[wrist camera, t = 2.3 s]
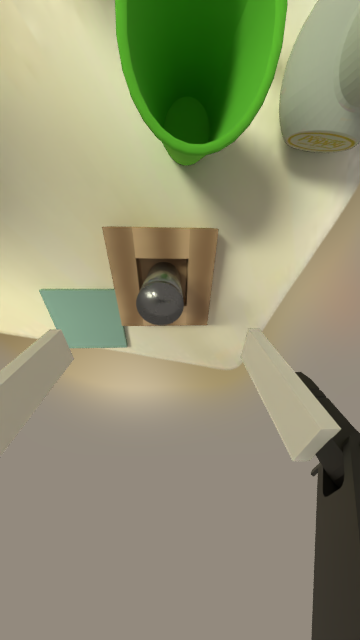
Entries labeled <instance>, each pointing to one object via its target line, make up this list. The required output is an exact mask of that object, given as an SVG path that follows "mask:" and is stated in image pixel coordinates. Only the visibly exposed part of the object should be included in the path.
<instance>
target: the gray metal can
mask: <svg viewBox="0 0 360 640" xmlns="http://www.w3.org/2000/svg"><path fill="white" fill-rule="evenodd" d="M136 307H137V310H138V313H139V314H140V316H141V317H142V318H143V319H144V320H145V321H147V322H149V323H151V324H154V325H160V326H162V325H168V324H171V323H173V322H175V321H176V320H177V319H178V318H179V317H180V316H181V314H182V312H183V308H184V302H183V295H182V288H181V281H180V274H179V272H178V270H177V268H176V267H175V266H174V265H172V264H171V263H168V262H159V263H157V264H155V265H154V266H153V267H152V268H151V269H150V271H149V273H148V275H147V277H146V279H145V281H144V283H143V285H142V287H141V290H140V292H139V294H138V296H137V299H136Z"/></svg>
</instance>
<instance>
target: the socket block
mask: <svg viewBox="0 0 360 640" xmlns="http://www.w3.org/2000/svg"><path fill="white" fill-rule="evenodd" d="M102 229H103V234H104V239H105V244H106V249H107V254H108V259H109V264H110V269H111V274H112V279H113V284H114V289H115V294H116V299H117V304H118V309H119V314H120V319H121V323H122V326H160V325H154V324H151V323H149V322H147V321H145V320H144V319H143V318H142V317H141V316H140V314H139V313H138V310H137V307H136V299H137V296H138V294H139V292H140V290H141V287H142V285H143V283H144V281H145V279H146V277H147V275H148V273H149V271H150V269H151V268H152V267H153V266H154V265H155V264H157V263H159V262H168V263H171V264H172V265H174V266H175V267H176V268H177V270H178V272H179V274H180V281H181V288H182V295H183V302H184V308H183V312H182V314H181V316H180V317H179V318H178V319H177V320H176V321H175V322H173V323H171V324H168V325H207V321H208V312H209V304H210V295H211V287H212V279H213V270H214V262H215V254H216V245H217V237H218V229H214V228H166V227H102ZM162 326H166V325H162Z"/></svg>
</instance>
